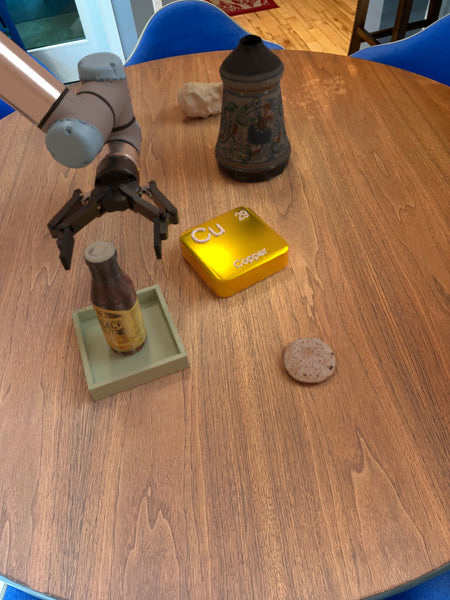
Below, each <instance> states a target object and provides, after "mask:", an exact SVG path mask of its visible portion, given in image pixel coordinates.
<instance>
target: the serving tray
mask: <svg viewBox="0 0 450 600" xmlns="http://www.w3.org/2000/svg"><path fill="white" fill-rule="evenodd" d="M135 291H136V294H137V298H138V301H139V305H140V309H141V312H142V316H143V320H144V324H145V327H146V333H147V339H146V343H145V345H144V346H143V348H142V349H141V350H139V351H138V352H136V353H134V354H132V355H120V354H116V353H115V352H114V351H113V350H112V349H111V347H110V346H109V345H108V343H107V341H106V339H105V336H104V333H103V331H102V328H101V326H100V323H99V321H98V319H97V316H96V313H95V310H94V308H93V305H92V304H91V305H88V306H85V307H82V308H79V309H76V310H72V311H71V312H70V313H71V317H72V318H71V319H72V321H73V326H74V331H75V335H76V341H77V344H78V350H79V353H80V359H81V362H82V368H83V372H84V375H85V380H86V385H87V390H88V392H89V394H90V396H91V397H92V399H93V401H94V402H96V401H99V400H103V399H104V398H107V397H110V396H113V395H116V394H119V393H121V392H125V391H127V390H129V389H132V388H135V387H138V386H142V385H143V384H146V383H149V382H152V381H155V380H158V379H160V378H164V377H166V376H169V375H172V374H174V373H177V372H180V371H182V370H186V369H188V368H191V365H190V361H189V357H188V353H187V351H186V348H185V345H184V344H183V341H182V339H181V336H180V334H179V331H178V329H177V326H176V324H175V321H174V319H173V317H172V314H171V311H170V308H169V307H168V304H167V301H166V299H165V297H164V295H163V292H162V289H161V287H160V284H159V283H156V284H153V285H151V286H147V287H144V288H140V289H138V290H135Z"/></svg>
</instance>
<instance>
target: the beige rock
mask: <svg viewBox="0 0 450 600" xmlns="http://www.w3.org/2000/svg"><path fill="white" fill-rule="evenodd" d="M222 96H223V82H222V80H221V79H219V82H210V83H209V82H207V83H206V82H196V81H195V82H186V83H184V84H182V85H181V87H180V89H179V90H178V92H177V103H178V105H179V108H180V109H181V110H182V111H184V112H185V113H186V114H187V115H188V116H189V117H190V118H200V117H202V118H203V119H208V117H209V116H211V115H212V116H216V115H220V114H221V108H222Z"/></svg>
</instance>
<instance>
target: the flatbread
mask: <svg viewBox="0 0 450 600" xmlns="http://www.w3.org/2000/svg"><path fill="white" fill-rule="evenodd" d="M283 365H284V369H285V370H286V372H287V373H288V375H290V377H292V378H293V379H294V380H296V381H299V382H302V383H305V384H306V383H307V384H317V383H321V382H323V381H325V380H327V379H329V378H330V377H332V375H333V374H334V373H335V370H336V357H335V354H334V351H333V349H332V348H331V347H330V346H329V344H327V343H326V342H325V341H323V340H321V339H320V338H319V337H317V336H311V337H310V336H309V337H303V338H297V339H294V340H292V341H291V342H290V343H289V344H288V345H287V347H286V348H285V350H284V353H283Z"/></svg>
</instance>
